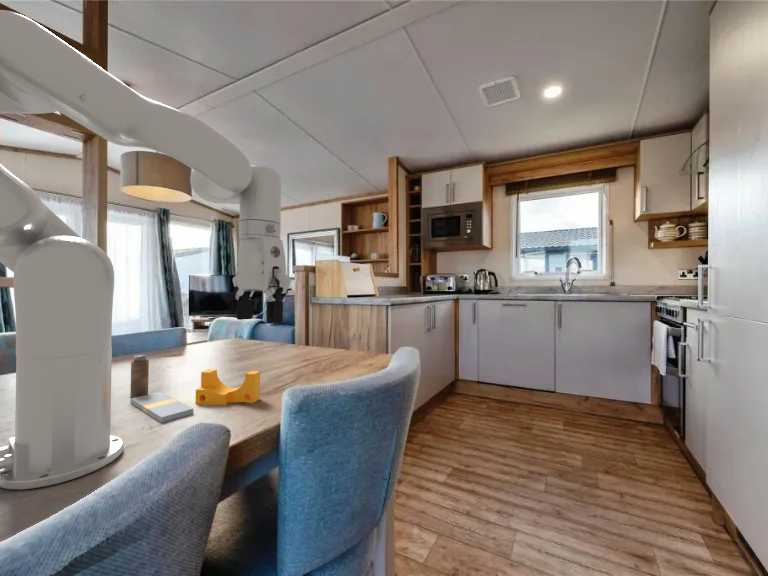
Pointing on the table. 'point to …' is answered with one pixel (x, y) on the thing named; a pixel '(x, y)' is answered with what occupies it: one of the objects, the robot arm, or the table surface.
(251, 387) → the pipe clamp
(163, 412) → the board
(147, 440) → the table surface
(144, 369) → the peg
